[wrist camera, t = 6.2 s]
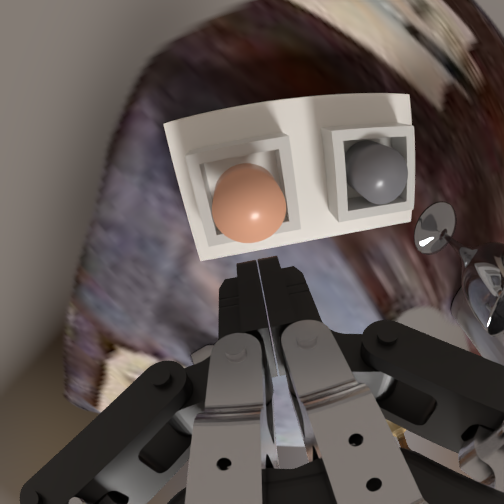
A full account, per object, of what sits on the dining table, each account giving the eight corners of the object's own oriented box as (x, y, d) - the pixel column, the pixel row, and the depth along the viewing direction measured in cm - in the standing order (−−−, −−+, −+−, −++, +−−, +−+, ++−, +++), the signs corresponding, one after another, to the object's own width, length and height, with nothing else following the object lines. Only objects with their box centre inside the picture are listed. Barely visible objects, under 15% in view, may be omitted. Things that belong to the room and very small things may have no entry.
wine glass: (409, 264, 32) (477, 348, 19) (412, 204, 28) (503, 280, 15) (455, 249, 32) (524, 319, 19) (460, 194, 28) (548, 255, 15)
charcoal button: (388, 138, 20) (407, 145, 18) (389, 188, 23) (407, 200, 20) (339, 142, 20) (355, 149, 18) (343, 194, 23) (358, 208, 20)
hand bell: (376, 426, 56) (394, 479, 42) (375, 414, 52) (396, 473, 38) (406, 413, 55) (427, 464, 41) (409, 399, 51) (433, 456, 37)
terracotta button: (273, 157, 19) (280, 167, 16) (282, 217, 21) (290, 235, 18) (207, 170, 19) (204, 182, 16) (221, 228, 21) (220, 249, 18)
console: (386, 93, 22) (426, 95, 17) (391, 206, 28) (424, 232, 23) (173, 120, 23) (155, 126, 17) (203, 240, 29) (198, 277, 23)
